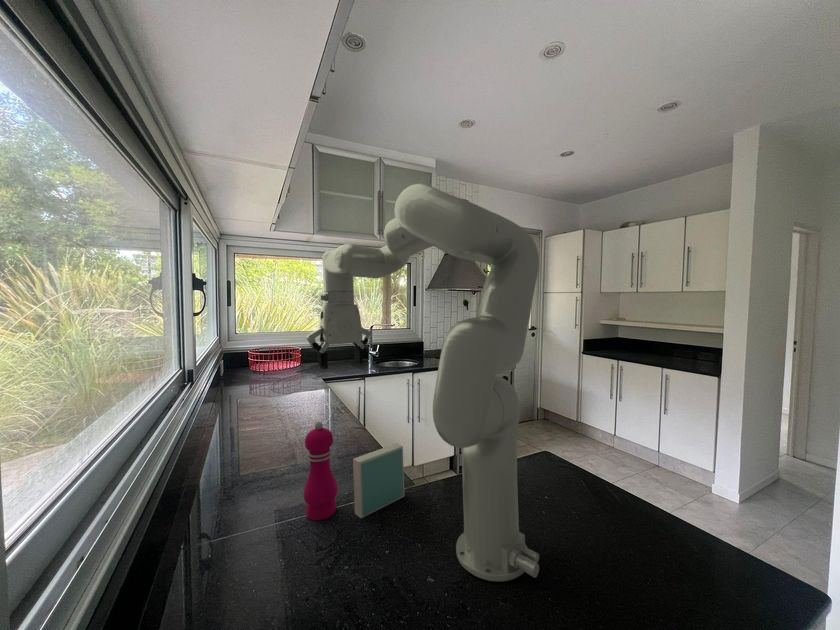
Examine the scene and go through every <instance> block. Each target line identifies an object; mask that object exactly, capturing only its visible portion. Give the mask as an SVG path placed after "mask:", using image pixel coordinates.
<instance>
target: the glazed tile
mask: <svg viewBox="0 0 840 630" xmlns="http://www.w3.org/2000/svg"><path fill="white" fill-rule="evenodd" d="M352 465H353V466H352V468H353V469H352V472H353V496H354V501H353V502H354V515H356V516H357V517H358V518H359V519H363V518H366V517H367V516H369V515H371V514H373V513H374V512H377V511H378V510H381V509H383V508H384V507H386V506H389V505H391V504H393V503H395V502H397V501H399V500H400V499H403V498H405V472H404V471H405V469H404V446H403V445H401V444H399V443H394V444H391V445H388V446H385V447H382V448H379V449H377V450H374V451H370V452H369V453H365V454H362V455H359V456H357V457H354V458H352Z"/></svg>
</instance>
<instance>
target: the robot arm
mask: <svg viewBox="0 0 840 630" xmlns="http://www.w3.org/2000/svg"><path fill="white" fill-rule="evenodd" d="M383 237H384V241H385V244H386V245H384V246H383V247H380V248H374V247H370V246H369V247H368V246H363V245H357V244H351V243H345V244H342V245H340V246H338V247H337V248H336V249H331V250H327V251H325V252H324V253H323V254H322V280H323V281H322V282H323V283H322V284H323V293H322V294H319V295H318V300H319V301H322V302H323V305H321V307H320V315H319V323H318V324H319V326H318V327H319V328H318V329H315V330H314V331H313V332H311V333H309V334H308V335H307V334H306V340H307V342H308V343H309V345H310V347H311V348H312V349H313V350H315V352H316V353H317V362H318V366H319V368H320V369H321V370H328V367H329V366H328V365H329V364H328V353H327V352H326V351H327V349H328V348H329V346H330V345H333V346H334V345H345V344H352V345H353V346H354V347H355V348H354V349H353V359H354V360H353V362H354V364H356V365H363V360H364V351H363V350H364V349H365V347H366V345H367V344H368V342H369V339H370V337H371V334H372V333H371V331H370V330H368V329H366V328H364V327H362V321H361V320H362V319H361V314H360V310H359V307H358V306H359V305H358V304H355V291H354V289H355V288H354V286H355V285H354V277H355V278H368V279H381V278H385V277H387V276H389V275H391V274H393V273H395V272H398V271H400V270H402V268H404V266H405V265H406V264H407V263H408V261H409V259H410V257H411V256H414V255H416V254H419V253H420V252H422V251H424V250H427V249H428V248H431V247H434V248H437V249H438V250H439V251H441V252H444V253H446V254H448V255H450V256H453V257H456V258H458V259H463V260H468V261H473V262H478V263H484V264H487V265H488V266H489V267H490V271H489V273H488V274H487V277H486V279H485V281H484V283H483V286H482V288H481V289H482V290H481V295H480V302H479V306H478V311H477V313H476V317H470V318H468V317H467V318H464V319H462V320H460V321H458V322H457V323H456V324H454V325H453V326H452V327H451V329H449V331H448V332H447V334H446V336H445V339H443V343H442V346H441V351H440V356H439V362H438V369H437V375H436V381H435V385H434V386H435V388H434V395H433V400H432V418H433V423H434V427H435V429H436V432H437V433H438V435H439V437H440V439H442V440H443V441H444V442H445V443H446V444H447V445H449V446H451V447H454V448H459V449H462V450H461V463H462V465H461V472H462V475H461V476H462V499H463V500H462V501H463V503H462V504H463V505H462V506H463V532H462V533H461V534H460V536H459V537H458V539H457V541H456V543H455V551H456V552H455V554H456V557H457V559H458V562H459V564H460V565H461V566H462V567H463V568H464V569H465V570H466V571H467V572H468V573H470V574H472V575H473V576H475V577H477V578H479V579H482V580H486V581H488V582H489V581H490V582H508V581H511V580H514V579H516V578H519V577H520V576H522V575H523V574H524V573H526V574H527V575H530V576H531V577H533V578H537V577H538V575H539V572H540V564H539V563H538V562H539V560H540V554H539V553H538V552H536V551H534V550H532V549H530V548H528V546H527V545H526V537H525V536H526V535H525V534H524V533H523V532H520V525H519V522H520V521H519V499H518V496H519V495H518V494H519V493H518V492H519V491H518V459H517V457H518V454H517V453H518V452H517V451H518V450H517V449H518V448H517V446H518V445H517V443H518V442H517V441H518V432H519V423H520V409H521V408H520V399H519V395H518V394H517V391H516V389H515V388H514V386H513V385H512V384H511V382H509V381H508V380H507V379H505V378H503V377H502V376H498V374H501V373H504V372H507V371H508V370H511V369H513V368H514V367H516V366H517V365H518V363H520V361H521V360H522V357H523V354H524V350H525V345H526V344H525V343H526V341H527V340H526V339H527V334H528V328H529V323H530V317H531V314H532V313H531V311H532V307H533V306H532V305H533V300H534V294H535V290H536V289H535V288H536V284H537V280H538V274H539V268H540V267H539V266H540V257H539V250H538V247H537V245H536V242H535V241H534V239H533V237H532V235H531V234H530V233H529V232H528V231H526V229H524V228H523V227H521V226H520V225H518V223H515V222H513V221H511V220H510V219H508V218H506V217H504V216H502V215H500V214H498V213H496V212H493V211H491V210H488V209H487V208H484V207H482V206H480V205H477V204H475V203H473V202H471V201H467V200H465V199H463V198H460V197H458V196H455V195H453V194H449V193H447V192H444V191H442V190H440V189H438V188H435V187H434V186H431V185H429V184H426V183H421V182H419V183H414V184H411V185H409V186H408V187H406V188H405V189H403V190H402V192H401V193H400V194H399V196H398V197H397V198H396V201H395V205H394V218H392V219H390V220H389V221H388V222H387V223H386V225H385V227H384V231H383ZM318 336H319V337H318ZM317 337H318V338H319V342H320V343H318V342H317V340H316V338H317Z"/></svg>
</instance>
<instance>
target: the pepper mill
mask: <svg viewBox="0 0 840 630" xmlns="http://www.w3.org/2000/svg"><path fill="white" fill-rule="evenodd" d="M323 426H324V423H323V422H322V421H316V422H315V423H314V428H313V429H312V430H310V431H309V432H308V433H307V434H306V435H305V438H304V445H305V449H306V450H308V452H307V460H308V461H309V465H310V466H309V474H308V476H307V480H306V483H305V484H304V489H303V501H304V502H305V503H306V504H307V505H306V510H305V511H306V517H307V518H308V519H309V520H312V521H322V520H325V519H328V518H330V517H332V516H333V515H334V514H335V512H336V510H337V503H336V502H337V501H336V497H337V496H338V492H339V490H338V483H337V481H336V478H335V476H334V474H333V472H332V469H331V464H330V458H331V457H332V449H331V447H332V445H333V444H334V436H333V433H332V431H331V430H330V429H329V428H326V427H323Z"/></svg>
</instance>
